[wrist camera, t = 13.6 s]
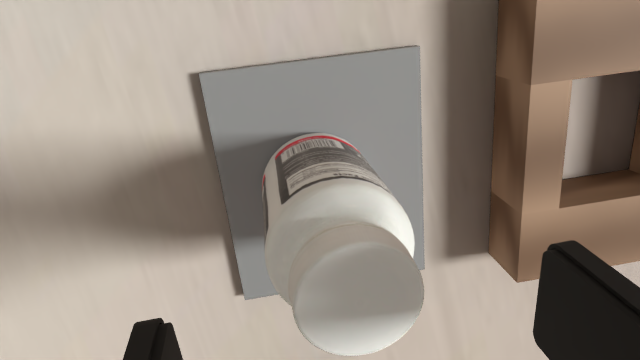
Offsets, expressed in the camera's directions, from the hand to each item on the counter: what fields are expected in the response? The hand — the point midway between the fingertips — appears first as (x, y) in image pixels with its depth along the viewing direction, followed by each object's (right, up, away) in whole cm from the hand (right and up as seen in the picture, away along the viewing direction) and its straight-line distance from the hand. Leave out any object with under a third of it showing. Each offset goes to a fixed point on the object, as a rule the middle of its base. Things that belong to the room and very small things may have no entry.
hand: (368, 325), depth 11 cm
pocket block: (+13, +7, +12) cm, 19 cm away
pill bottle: (-1, +4, +11) cm, 12 cm away
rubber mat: (-1, +4, +12) cm, 12 cm away
